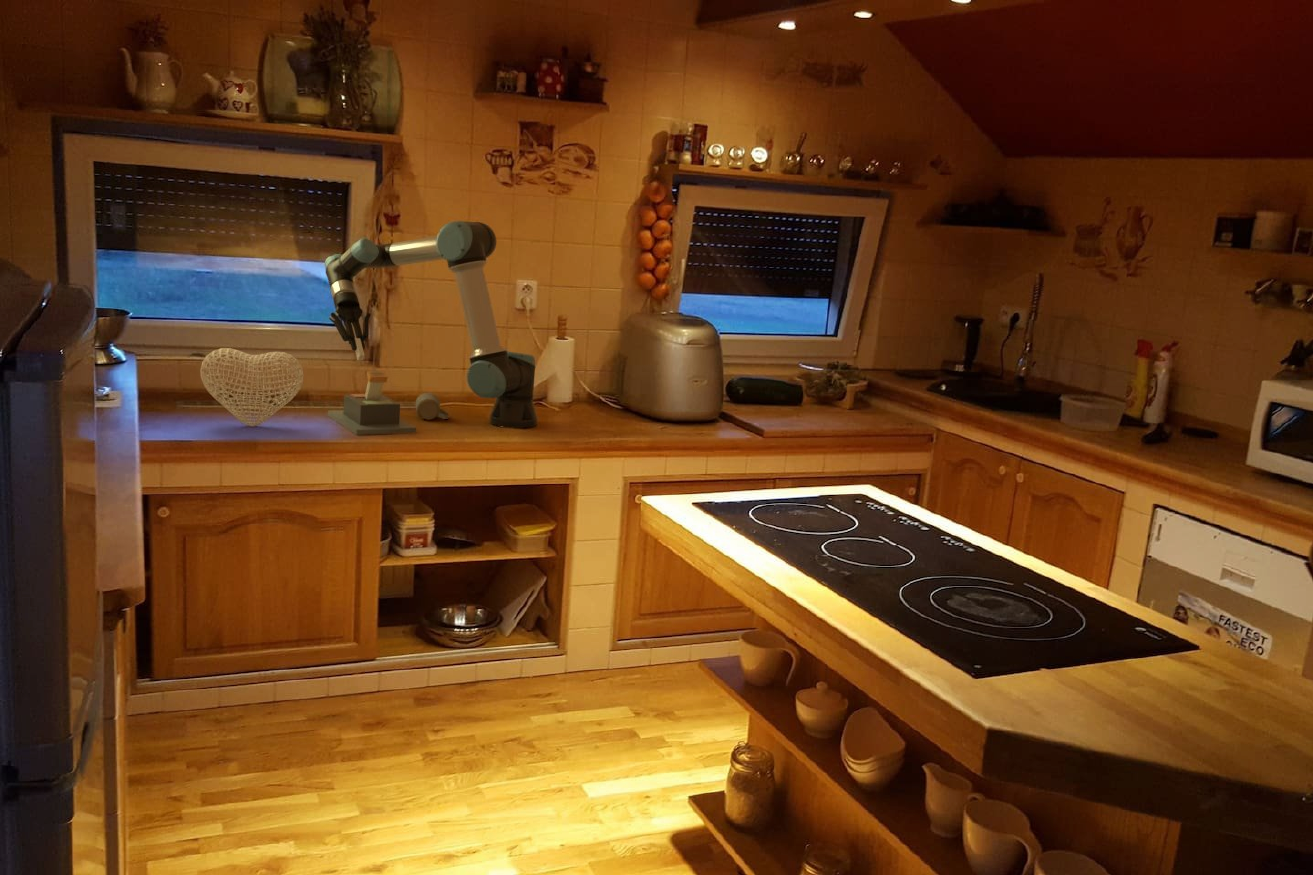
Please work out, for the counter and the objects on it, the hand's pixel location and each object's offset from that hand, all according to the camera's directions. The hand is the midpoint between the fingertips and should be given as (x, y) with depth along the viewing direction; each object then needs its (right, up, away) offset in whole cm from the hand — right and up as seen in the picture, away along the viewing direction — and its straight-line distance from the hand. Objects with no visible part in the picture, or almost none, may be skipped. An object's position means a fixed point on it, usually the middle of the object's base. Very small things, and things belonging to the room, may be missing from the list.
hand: (361, 357), depth 337 cm
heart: (-26, -22, -22) cm, 40 cm away
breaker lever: (+5, -13, -6) cm, 15 cm away
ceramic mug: (+20, -19, +11) cm, 29 cm away
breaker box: (+4, -20, -5) cm, 21 cm away
